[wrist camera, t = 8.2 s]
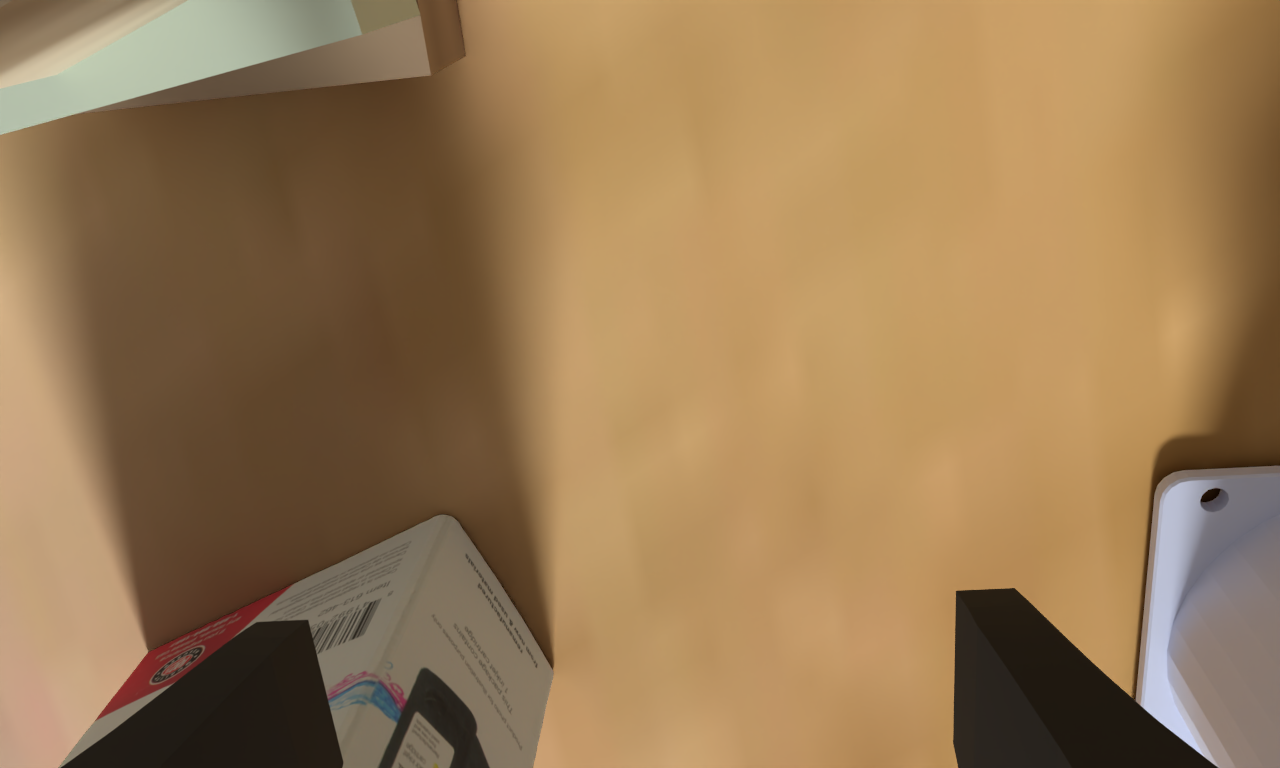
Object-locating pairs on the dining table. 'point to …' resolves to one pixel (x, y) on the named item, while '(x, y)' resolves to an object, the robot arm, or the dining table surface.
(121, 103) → the walnut base block
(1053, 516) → the dining table surface
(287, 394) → the dining table surface
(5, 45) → the maple block
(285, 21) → the sage top block
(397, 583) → the ink box
